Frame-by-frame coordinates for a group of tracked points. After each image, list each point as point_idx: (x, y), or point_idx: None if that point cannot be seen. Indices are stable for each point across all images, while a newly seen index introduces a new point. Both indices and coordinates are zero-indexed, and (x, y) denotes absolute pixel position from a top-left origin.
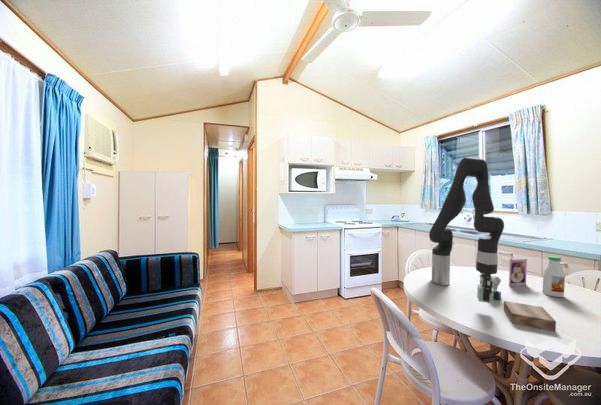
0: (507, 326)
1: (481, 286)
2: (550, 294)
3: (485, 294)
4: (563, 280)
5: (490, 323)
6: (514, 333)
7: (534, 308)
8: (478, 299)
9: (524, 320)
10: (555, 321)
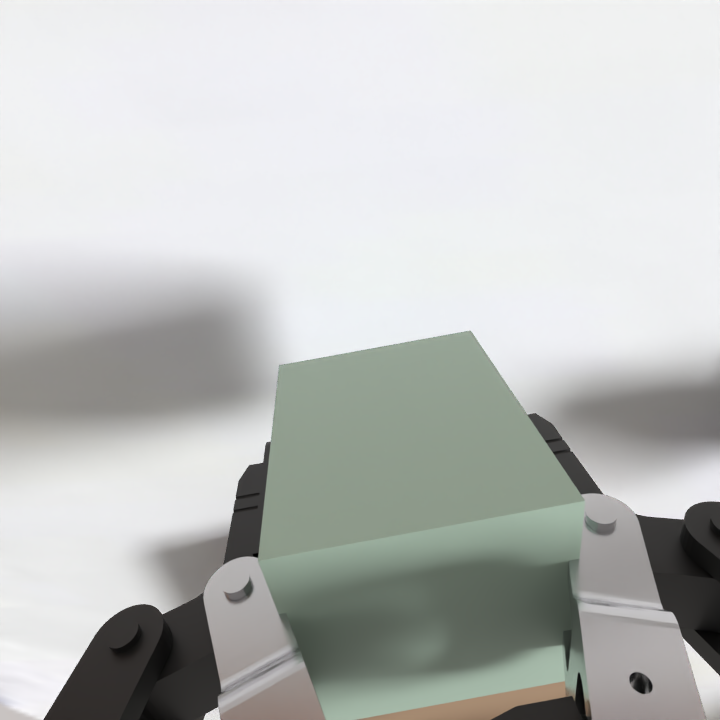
0: (143, 511)
1: (436, 574)
2: None
3: (228, 558)
4: None
5: (76, 408)
6: (43, 550)
7: (499, 695)
8: (323, 362)
9: None
10: None
